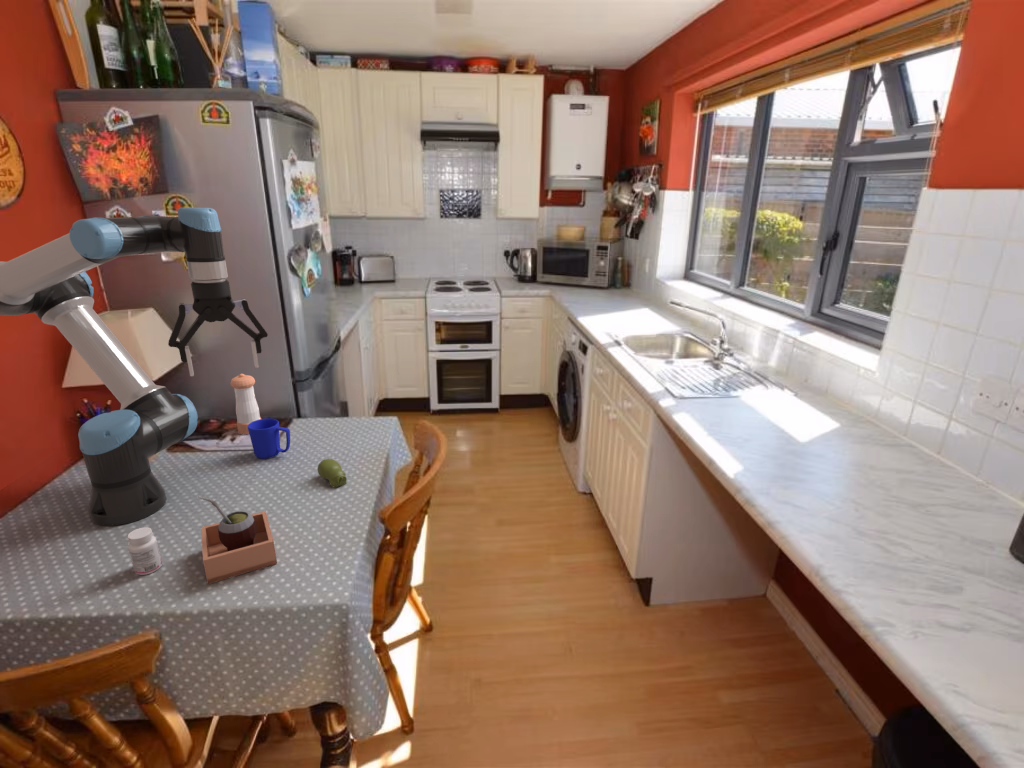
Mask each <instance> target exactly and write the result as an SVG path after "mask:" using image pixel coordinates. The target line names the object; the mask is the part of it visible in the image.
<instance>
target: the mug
mask: <svg viewBox="0 0 1024 768" xmlns="http://www.w3.org/2000/svg"><path fill="white" fill-rule="evenodd" d="M248 431H249V434H248V435H249V438H250V441H251V445H252V449H253V454H254V455H255V457H256V458H257V459H260V460H261V459H262V460H266V459H268V460H269V459H271V458H274V457H277V456H278V455H279V454H280V453H286V452H288V450H289V449H290V446H291V429H290V428H288V427H283V426H280V421H279V420H277V418H261V419H260V420H256V421H253V422H251V423H250V424H249V425H248ZM280 431H282V432H285V434H286V437H285V438H286V441H285V442H286V445H285V446H286V447H285V449H282V448H281V439H280V438H281V436H280V434H281V433H280Z"/></svg>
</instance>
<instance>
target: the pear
mask: <svg viewBox="0 0 1024 768" xmlns="http://www.w3.org/2000/svg"><path fill="white" fill-rule="evenodd" d="M317 473H318V475H319V476H320V478H322V479H325V480H327V481H329V485H330V486H331V487H333V488H338V487H341V486H344V485H346V484H347V481H348V480H347V476H346V472H345V471H344V470H343V468H342V466H341V464H340V463H339V462H338V461H337V460H335V459H332V458H325V459H322V460H321V461H320V462H319V463H318V465H317Z"/></svg>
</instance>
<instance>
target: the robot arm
mask: <svg viewBox="0 0 1024 768" xmlns="http://www.w3.org/2000/svg"><path fill="white" fill-rule="evenodd" d="M71 226H72V227H70V230H69V232H68V233H67V234H64V235H62V236H60V237H58V238H56V239H53V240H51V241H49V242H46V243H44V244H43V245H41V246H38V247H36V248H34V249H31V250H30V251H28V252H27V251H26V253H23V254H21V255H19V256H17V257H14V258H12V259H9V260H8V261H2V260H1V261H0V316H7V317H8V316H9V317H10V316H11V317H13V316H15V317H17V316H20V315H21V316H22V315H27V314H35V315H36V316H37V317H38V318H39V320H40V321H41V322H42V323H43V324H45V325H49V326H55V327H56V328H57V330H58V331H59V332H60V333H61V335H62V336H64V337H63V338H65V339H66V341H67V342H68V343H69V344H70V345H71V346H72V347H73V348H74V350H75V351H76V352H77V353H78V355H79V356H80V357H81V358H82V359H83V360H84V362H85V363H86V364H87V365H88V367H89V368H90V369H91V370H92V371H93V372H94V374H95V375H96V376H97V377H98V378H99V379H100V381H101V382H102V383H103V384H104V386H105V387H106V388H107V389H108V390H109V391H110V392H111V394H112V395H113V396H114V397H115V398H116V400H117V401H118V402H119V403H120V409H117V410H111V411H109V412H104V413H100V414H98V415H96V416H93V417H91V418H90V419H88V420H87V421H85V422H84V423H83V424H82V425H81V426H80V428H79V430H78V435H77V436H78V441H79V450H80V451H81V453H82V456H83V459H84V463H85V468H86V471H87V474H88V478H89V480H90V485H91V493H90V499H89V505H88V512H89V513H88V514H89V516H90V519H91V522H93V524H96V525H99V526H104V527H105V526H106V527H107V526H109V527H110V526H119V525H125V524H129V523H134V522H136V521H139V520H143V519H145V518H146V517H149V516H151V515H153V514H155V513H156V512H158V511H159V510H160V509H161V508H163V507H164V505H165V504H166V502H167V495H166V491H165V489H164V487H163V486H162V485H161V483H160V482H159V480H158V479H157V478H156V476H155V475H154V474H153V471H152V468H151V464H150V460H149V459H150V458H151V457H153V456H154V455H156V454H158V453H160V452H162V451H164V450H166V449H167V448H169V447H171V446H173V445H175V444H179V443H182V441H184V440H185V439H186V438H188V437H190V436H191V435H192V434H193V433H194V432H195V430H196V429H197V427H198V426H197V425H198V419H199V416H198V411H197V409H196V406H195V405H194V403H193V401H191V400H190V398H188V397H187V396H186V395H182V394H179V393H172V392H171V391H170V390H169V389H168V388H167V387H166V386H164V385H158V384H155V382H154V381H153V380H152V379H151V377H150V376H149V375H148V373H146V371H145V370H144V369H143V368H142V367H141V365H140V364H139V363H138V362H137V360H136V359H135V358H134V357H133V356H132V354H131V353H130V352H129V351H128V349H126V348H125V346H124V345H123V344H122V343H121V341H120V340H119V338H117V336H116V334H114V333H113V332H112V331H111V329H110V327H108V326H107V324H106V323H105V322H104V321H103V319H102V318H101V317H100V315H99V314H97V312H96V311H95V310H94V309H93V308H94V305H95V304H94V303H95V299H94V286H92V284H93V282H92V280H91V277H90V276H89V274H88V273H87V271H89V270H92V269H94V268H96V267H99V266H101V265H103V264H106V263H108V262H111V261H113V260H116V259H118V258H121V257H128V256H134V255H135V256H137V255H145V254H155V253H165V252H166V253H167V252H168V253H169V252H172V253H174V252H175V253H184V255H185V258H186V266H187V269H188V271H187V272H188V276H189V279H190V280H192V281H191V283H190V287H191V292H192V298H193V303H192V304H190V303H184V302H180V303H179V304H178V314H177V318H176V321H175V323H174V325H173V329H172V331H171V333H170V337H169V339H168V342H167V344H168V347H170V348H176V349H178V351H179V352H178V353H179V355H180V361H181V362H182V363H187V365H188V366H187V367H188V371H189V377H194V376H195V372H194V366H193V361H192V355H191V351H190V346H189V345H188V343H189V342H190V341H191V339H192V337H193V336H194V335H195V334H196V333H197V331H198V330H199V329H200V327H201V326H202V325H203V324H204V322H205V321H206V322H208V323H214V322H225V321H227V320H228V319H229V321H231V322H232V323H234V325H236V326H237V327H239V329H241V330H242V331H243V332H245V333H246V334H247V335H248V336H249V337H251V338H252V339H250V346H251V352H252V358H253V359H252V360H253V365H254V368H255V369H258V368H260V365H259V364H260V363H259V359H258V358H259V357H258V354H261V353H262V351H263V350H262V344H261V343H262V342H261V340H262V339H264V338H267V337H268V336H269V333H268V332H267V331H266V330H265V328H264V327H263V325H262V324H261V323H260V321H259V320H258V319H257V318H256V316H255V315H254V313H253V312H252V310H251V309H250V306H249V304H248V301H247V300H246V298H241V299H240V300H235V301H234V300H233V299H232V292H231V286H230V281H229V280H227V278H229V275H228V269H227V262H226V256H225V251H224V244H223V237H222V227H221V224H220V220H219V216H218V212H217V210H215V209H214V208H212V207H179V208H178V210H177V216H165V215H163V216H162V215H161V216H160V215H153V214H152V215H151V214H150V215H142V216H141V215H140V216H132V217H131V216H129V217H128V216H126V217H124V216H123V217H120V216H119V217H98V216H97V217H96V216H95V217H89V218H82V219H78V220H76V221H75V222H73V223H72V225H71ZM235 307H237V308H238V309H239V310H242V311H243V312H244V313H245V314H246V316H247V317H248V318H249V320H250V322H251V323H252V324H253V325H254V326H255V328H256V329H257V330H258V333H257V332H255V330H253V328H251V327H250V326H248V325H247V324H246V323H245V322H244V321H243V320H241V319H240V318H238V316H236V315H235V314H234V313H233V311H234V309H235ZM191 310H193V311H194V312H195V313H196V314H197V316H196V318H195V320H194V321H193V322H192V323H191V325H190V327H188V329H187V331H186V332H185V333H184V335H183V336H182V337H181V338H180V340H178V338H179V335H180V332H181V330H182V327H183V324H184V322H185V320H186V315H188V314H190V312H191Z"/></svg>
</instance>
